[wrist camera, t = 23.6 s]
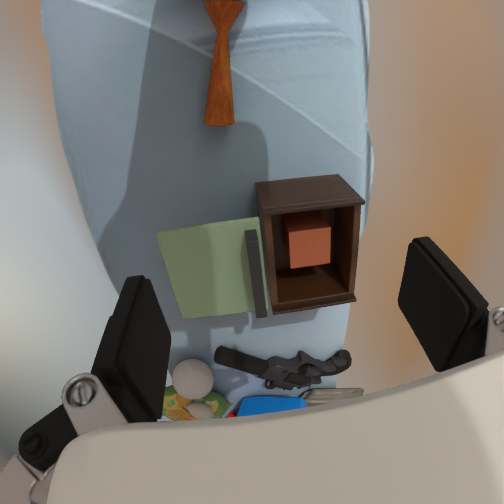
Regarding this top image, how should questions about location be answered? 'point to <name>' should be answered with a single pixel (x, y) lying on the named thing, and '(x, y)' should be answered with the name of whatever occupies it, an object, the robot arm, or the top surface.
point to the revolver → (285, 367)
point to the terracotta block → (306, 238)
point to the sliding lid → (216, 268)
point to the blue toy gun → (268, 405)
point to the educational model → (182, 414)
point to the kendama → (221, 63)
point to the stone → (330, 395)
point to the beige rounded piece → (193, 386)
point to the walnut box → (341, 250)
